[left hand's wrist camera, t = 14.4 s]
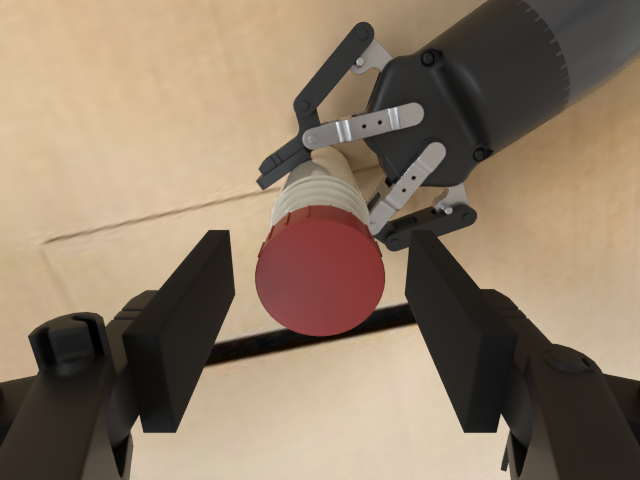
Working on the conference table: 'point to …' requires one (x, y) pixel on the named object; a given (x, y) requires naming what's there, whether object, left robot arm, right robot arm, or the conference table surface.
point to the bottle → (321, 186)
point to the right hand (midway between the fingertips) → (288, 217)
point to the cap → (320, 271)
